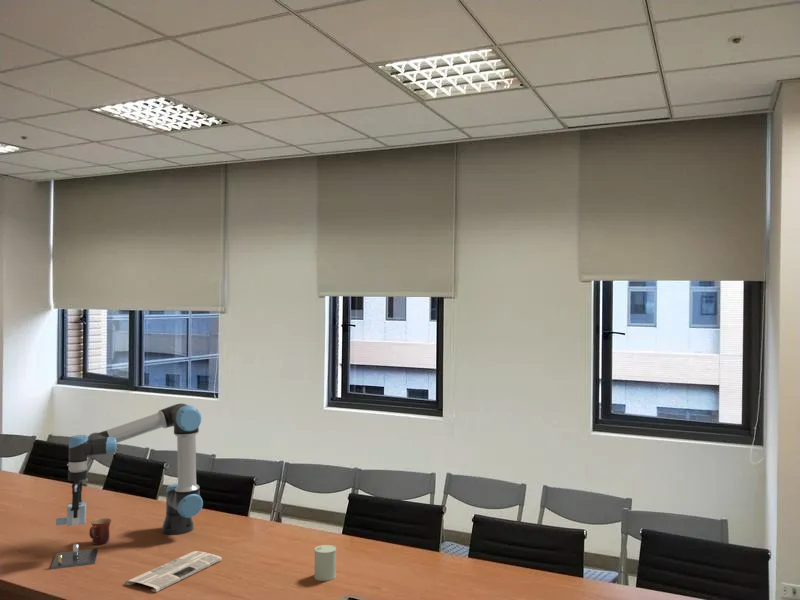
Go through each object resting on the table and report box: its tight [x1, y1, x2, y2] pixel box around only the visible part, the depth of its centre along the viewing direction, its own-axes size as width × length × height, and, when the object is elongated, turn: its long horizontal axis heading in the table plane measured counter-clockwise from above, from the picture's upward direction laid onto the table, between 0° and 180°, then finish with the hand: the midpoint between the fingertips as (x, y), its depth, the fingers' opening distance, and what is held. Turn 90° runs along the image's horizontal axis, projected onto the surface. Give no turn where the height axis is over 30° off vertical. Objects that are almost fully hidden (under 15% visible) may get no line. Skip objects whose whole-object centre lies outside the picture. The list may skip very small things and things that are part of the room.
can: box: [313, 544, 337, 582], centre depth 261 cm, size 9×9×12 cm
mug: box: [88, 517, 112, 546], centre depth 298 cm, size 12×9×10 cm
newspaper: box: [124, 550, 223, 594], centre depth 265 cm, size 37×19×3 cm, turn 154°
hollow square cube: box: [55, 501, 87, 527], centre depth 278 cm, size 12×7×8 cm, turn 112°
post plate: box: [50, 543, 99, 570], centre depth 278 cm, size 17×17×6 cm
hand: (76, 522), depth 279 cm, fingers closed on hollow square cube, 7 cm apart
